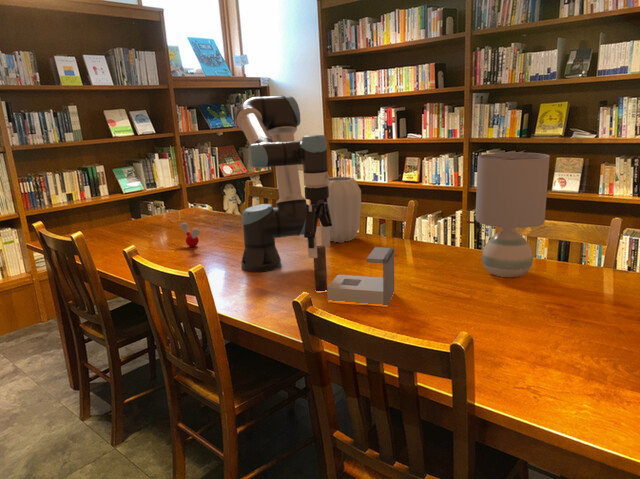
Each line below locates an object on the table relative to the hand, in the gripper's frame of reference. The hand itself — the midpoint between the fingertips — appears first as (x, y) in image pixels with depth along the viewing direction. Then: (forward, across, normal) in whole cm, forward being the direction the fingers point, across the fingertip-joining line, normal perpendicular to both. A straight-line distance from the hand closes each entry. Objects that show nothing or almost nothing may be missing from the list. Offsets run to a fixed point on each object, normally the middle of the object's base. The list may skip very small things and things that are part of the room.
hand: (319, 251), depth 160 cm
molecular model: (+13, +41, +74) cm, 86 cm away
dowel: (+14, 0, 0) cm, 14 cm away
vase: (+13, +63, +11) cm, 66 cm away
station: (+14, -3, -14) cm, 20 cm away
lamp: (+14, +28, -58) cm, 66 cm away
